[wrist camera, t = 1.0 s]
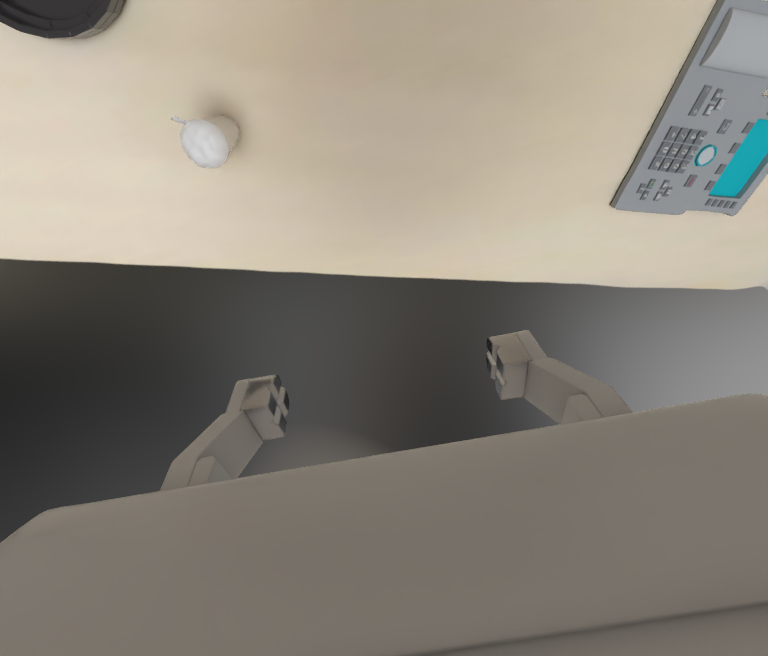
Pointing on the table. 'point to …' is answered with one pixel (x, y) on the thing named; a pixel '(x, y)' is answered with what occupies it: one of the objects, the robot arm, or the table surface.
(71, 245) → the table surface
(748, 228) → the table surface
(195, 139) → the milkshake
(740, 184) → the office telephone
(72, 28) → the pan
